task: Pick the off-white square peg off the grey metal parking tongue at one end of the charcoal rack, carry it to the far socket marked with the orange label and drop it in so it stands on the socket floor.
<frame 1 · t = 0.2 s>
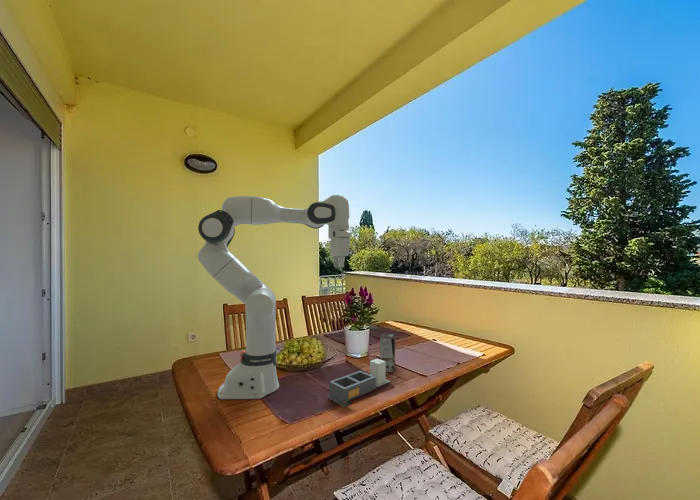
hand: (338, 267, 125), 47 cm above the table, tool pointing down, fingers open, 8 cm apart
slot rack: (361, 391, 114), on the table
peg: (377, 381, 120), point 1 cm above the table, touching slot rack
coffee box: (387, 371, 135), on the table
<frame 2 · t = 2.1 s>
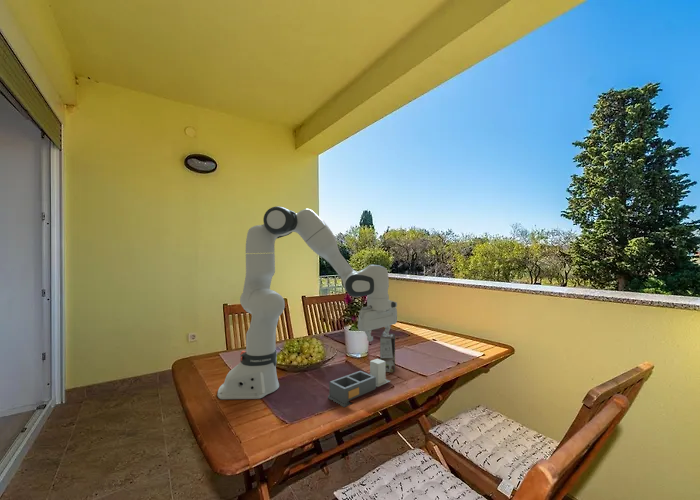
hand: (378, 338, 121), 19 cm above the table, tool pointing down, fingers open, 8 cm apart
nothing on the table moved.
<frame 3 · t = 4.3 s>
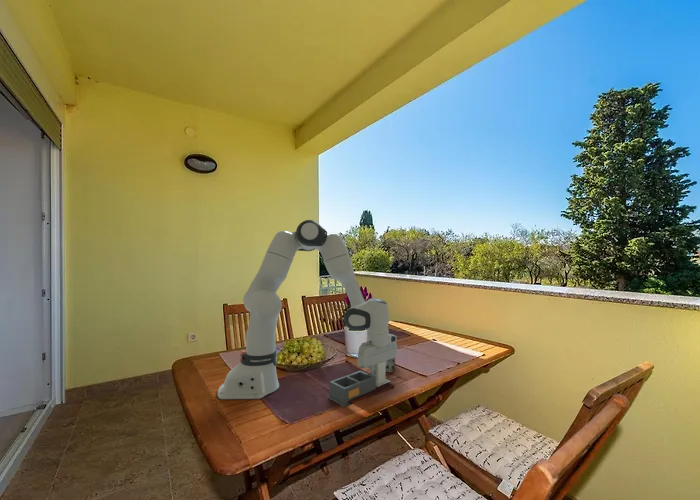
hand: (377, 373, 120), 5 cm above the table, tool pointing down, fingers closed on peg, 4 cm apart
peg: (377, 381, 120), point 2 cm above the table, touching gripper, slot rack
everything else where it was.
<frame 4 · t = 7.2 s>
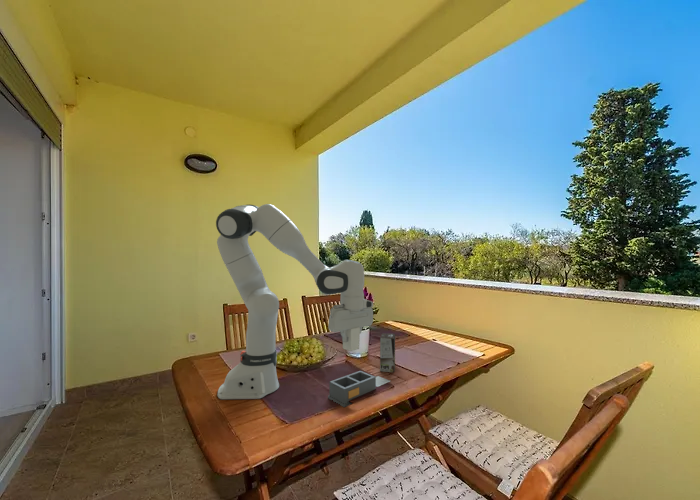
hand: (351, 340, 111), 20 cm above the table, tool pointing down, fingers closed on peg, 4 cm apart
peg: (350, 348, 111), point 17 cm above the table, touching gripper
everything else where it was.
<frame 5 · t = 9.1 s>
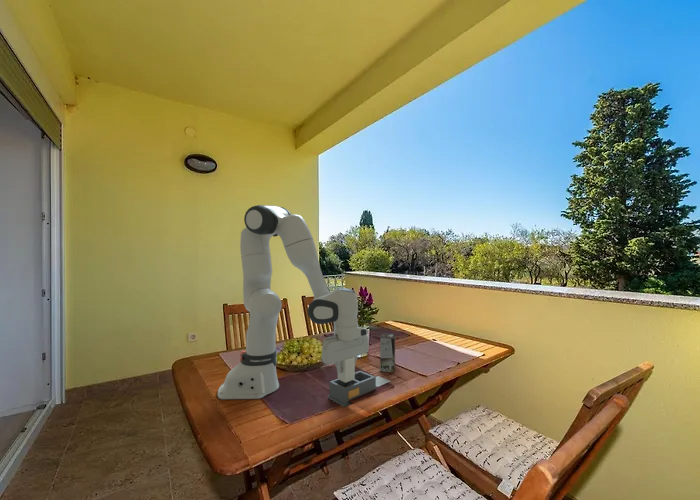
hand: (346, 370, 109), 10 cm above the table, tool pointing down, fingers closed on peg, 4 cm apart
peg: (346, 379, 108), point 7 cm above the table, touching gripper
everything else where it was.
when the fingers open (7 cm above the table, at t = 10.5 s): peg drops 2 cm, resting on slot rack.
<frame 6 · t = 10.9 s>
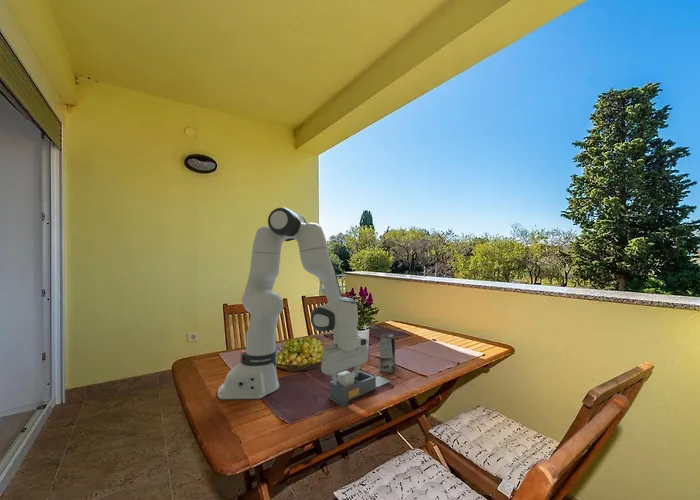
hand: (345, 380, 109), 7 cm above the table, tool pointing down, fingers open, 8 cm apart
peg: (345, 395, 108), point 1 cm above the table, touching slot rack
everything else where it was.
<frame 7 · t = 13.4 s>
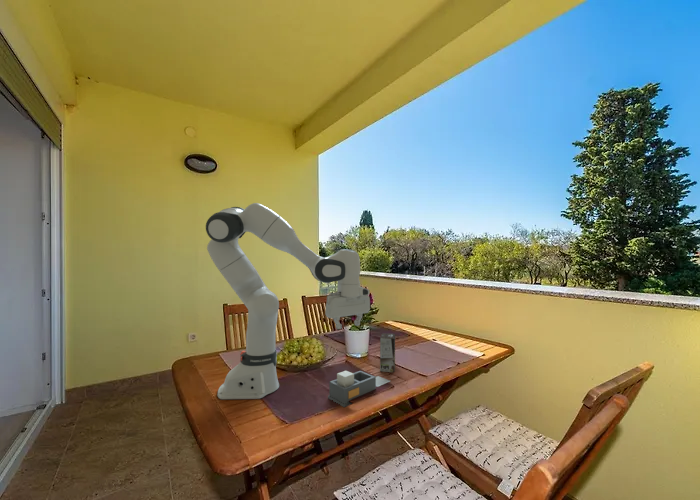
hand: (348, 327, 115), 25 cm above the table, tool pointing down, fingers open, 8 cm apart
nothing on the table moved.
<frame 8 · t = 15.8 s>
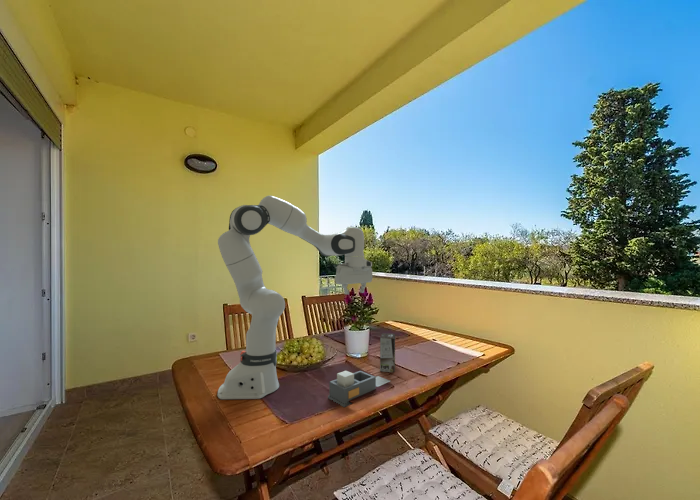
hand: (354, 293, 135), 35 cm above the table, tool pointing down, fingers open, 8 cm apart
nothing on the table moved.
at the end: peg 0.1 cm from the target spot, point 1.0 cm above the table; peg tilted 0°; the gripper is holding nothing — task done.
